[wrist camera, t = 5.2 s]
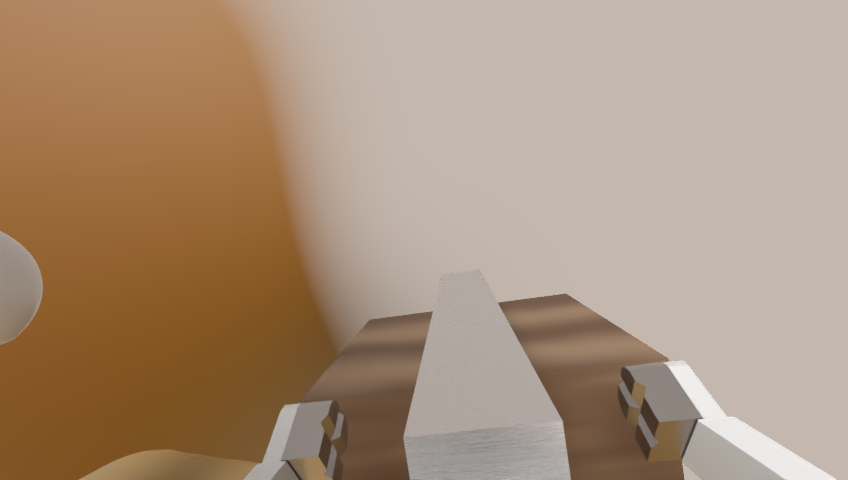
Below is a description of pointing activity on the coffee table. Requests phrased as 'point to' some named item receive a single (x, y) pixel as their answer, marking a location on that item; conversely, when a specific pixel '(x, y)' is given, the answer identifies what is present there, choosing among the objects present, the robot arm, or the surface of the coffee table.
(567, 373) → the brown patterned box
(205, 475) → the coffee table surface
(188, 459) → the coffee table surface
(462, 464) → the aluminium bar
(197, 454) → the coffee table surface
